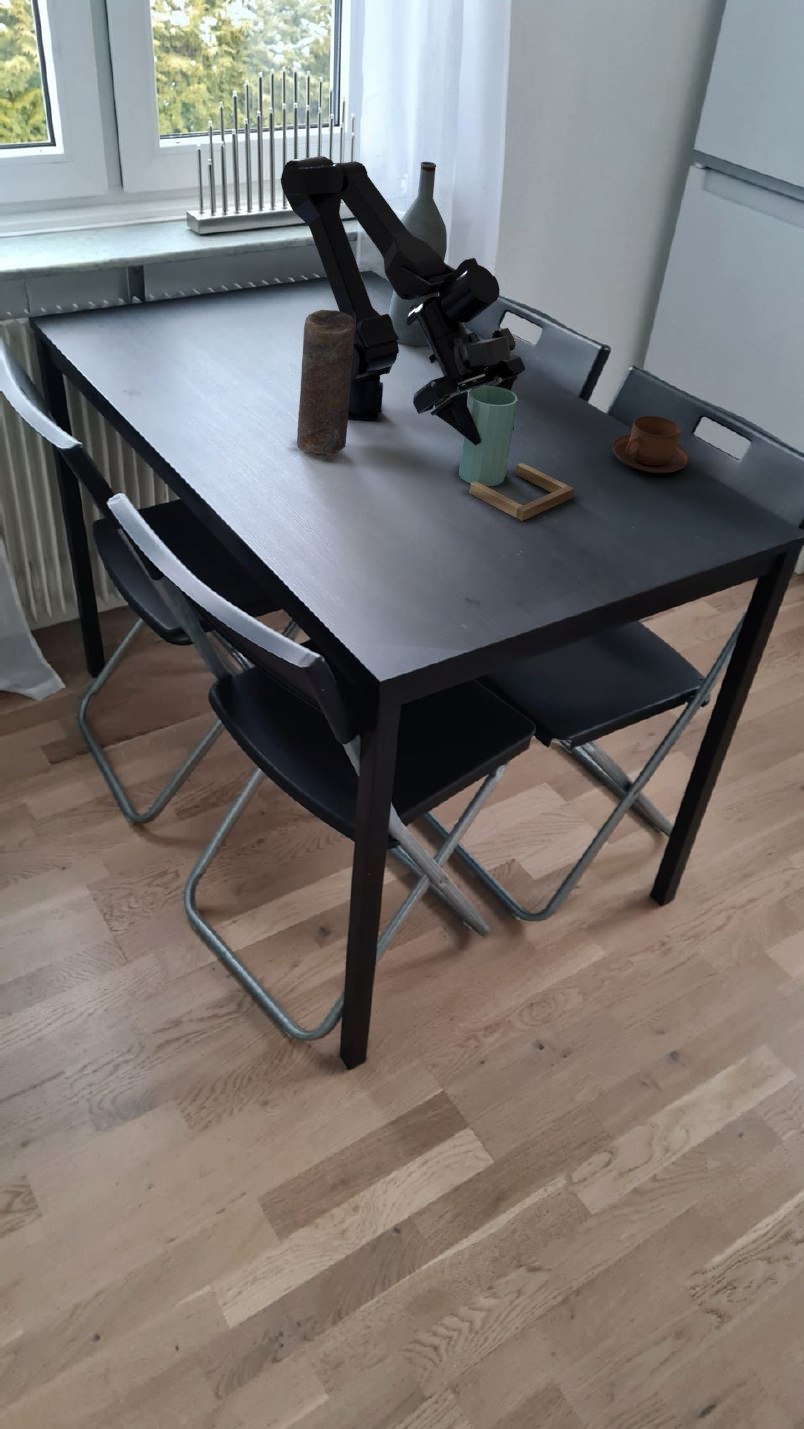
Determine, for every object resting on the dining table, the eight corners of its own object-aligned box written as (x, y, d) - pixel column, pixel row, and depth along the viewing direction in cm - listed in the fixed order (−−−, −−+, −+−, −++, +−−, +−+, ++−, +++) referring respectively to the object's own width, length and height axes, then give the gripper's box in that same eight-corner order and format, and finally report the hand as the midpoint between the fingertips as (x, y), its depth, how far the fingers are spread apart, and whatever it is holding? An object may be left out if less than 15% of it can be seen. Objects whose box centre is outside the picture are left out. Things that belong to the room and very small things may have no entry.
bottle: (379, 339, 205) (392, 163, 187) (398, 325, 212) (413, 153, 193) (426, 351, 203) (444, 174, 184) (443, 336, 210) (463, 163, 191)
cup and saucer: (670, 488, 168) (680, 450, 164) (598, 463, 173) (606, 426, 169) (697, 461, 177) (707, 425, 173) (628, 438, 181) (636, 402, 177)
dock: (469, 493, 161) (470, 483, 160) (520, 472, 168) (521, 462, 167) (522, 521, 156) (523, 511, 155) (572, 498, 163) (574, 488, 162)
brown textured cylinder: (354, 446, 170) (362, 315, 157) (336, 465, 164) (343, 331, 152) (308, 435, 172) (312, 305, 159) (288, 454, 166) (292, 320, 153)
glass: (459, 484, 163) (470, 403, 155) (457, 463, 169) (468, 384, 161) (506, 488, 164) (519, 407, 156) (503, 467, 169) (515, 388, 161)
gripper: (436, 323, 148) (487, 430, 149) (526, 299, 159) (572, 399, 160) (390, 361, 157) (438, 462, 158) (478, 336, 168) (522, 430, 169)
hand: (494, 437), depth 161 cm, fingers closed on glass, 7 cm apart
